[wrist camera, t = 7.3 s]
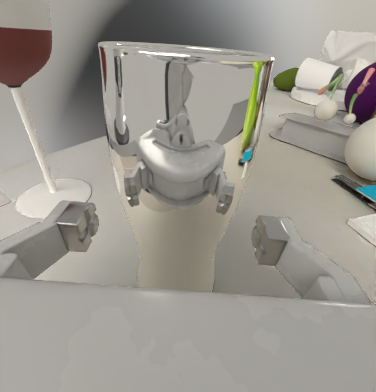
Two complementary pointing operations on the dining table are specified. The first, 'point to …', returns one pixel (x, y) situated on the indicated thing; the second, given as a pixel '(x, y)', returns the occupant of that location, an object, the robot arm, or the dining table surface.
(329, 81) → the cup
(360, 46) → the fabric swatch
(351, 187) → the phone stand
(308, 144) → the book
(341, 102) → the plate
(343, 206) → the dining table surface
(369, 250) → the dining table surface
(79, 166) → the dining table surface
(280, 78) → the avocado
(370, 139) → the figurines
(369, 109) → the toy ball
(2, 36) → the wineglass
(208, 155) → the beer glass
